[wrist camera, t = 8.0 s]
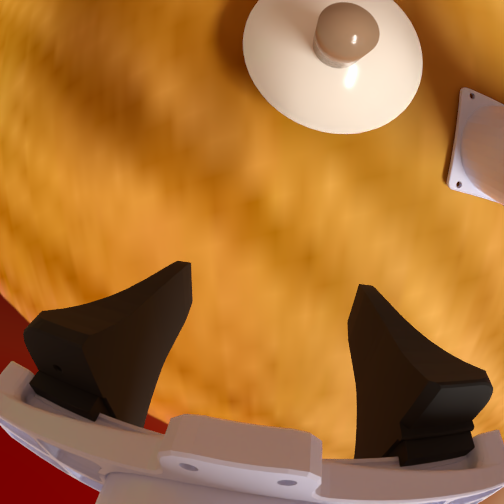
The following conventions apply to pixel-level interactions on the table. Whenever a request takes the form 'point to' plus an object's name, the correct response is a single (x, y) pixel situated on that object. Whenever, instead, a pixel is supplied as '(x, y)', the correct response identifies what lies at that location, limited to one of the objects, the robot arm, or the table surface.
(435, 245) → the table surface
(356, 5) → the lid
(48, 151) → the table surface
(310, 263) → the table surface
